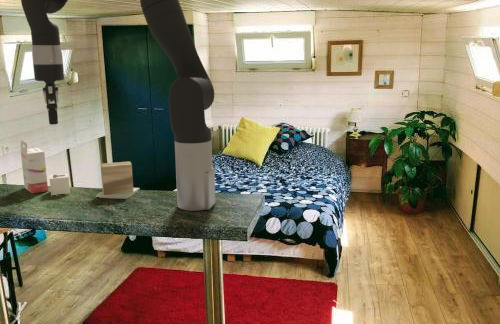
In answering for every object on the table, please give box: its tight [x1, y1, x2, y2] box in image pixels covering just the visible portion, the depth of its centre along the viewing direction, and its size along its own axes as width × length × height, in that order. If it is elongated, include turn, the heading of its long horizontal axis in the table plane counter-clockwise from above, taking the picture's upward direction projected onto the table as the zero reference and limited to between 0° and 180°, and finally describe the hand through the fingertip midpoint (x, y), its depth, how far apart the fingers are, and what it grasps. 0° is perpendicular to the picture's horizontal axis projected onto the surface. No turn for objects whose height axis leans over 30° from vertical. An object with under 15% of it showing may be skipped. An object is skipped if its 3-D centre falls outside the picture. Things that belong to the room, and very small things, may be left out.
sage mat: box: [95, 187, 141, 200], centre depth 138 cm, size 9×9×1 cm
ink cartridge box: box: [20, 139, 49, 194], centre depth 142 cm, size 9×5×15 cm, turn 37°
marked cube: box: [49, 173, 71, 197], centre depth 139 cm, size 5×5×5 cm
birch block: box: [100, 160, 134, 195], centre depth 137 cm, size 4×8×8 cm, turn 111°
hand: (53, 122), depth 136 cm, fingers open, 8 cm apart
